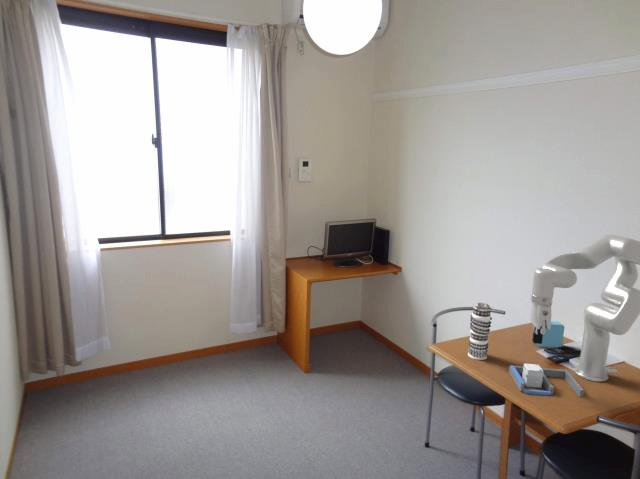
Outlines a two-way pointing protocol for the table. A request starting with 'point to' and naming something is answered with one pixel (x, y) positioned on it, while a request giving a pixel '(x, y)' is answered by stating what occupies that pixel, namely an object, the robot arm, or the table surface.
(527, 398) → the table surface
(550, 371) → the comb organiser
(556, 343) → the data package
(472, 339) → the white patterned tower
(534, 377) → the skincare box
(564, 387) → the table surface
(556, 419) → the table surface
